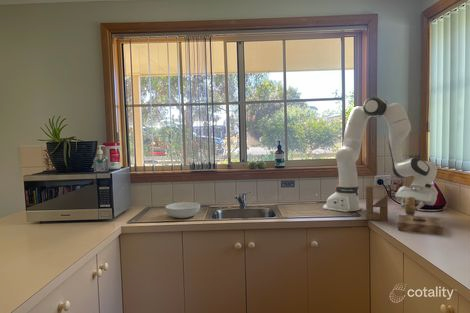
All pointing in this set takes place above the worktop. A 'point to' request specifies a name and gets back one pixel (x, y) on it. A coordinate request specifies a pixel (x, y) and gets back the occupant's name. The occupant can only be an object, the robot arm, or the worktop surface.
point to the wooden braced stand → (380, 203)
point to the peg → (410, 206)
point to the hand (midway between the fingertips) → (409, 207)
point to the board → (420, 224)
